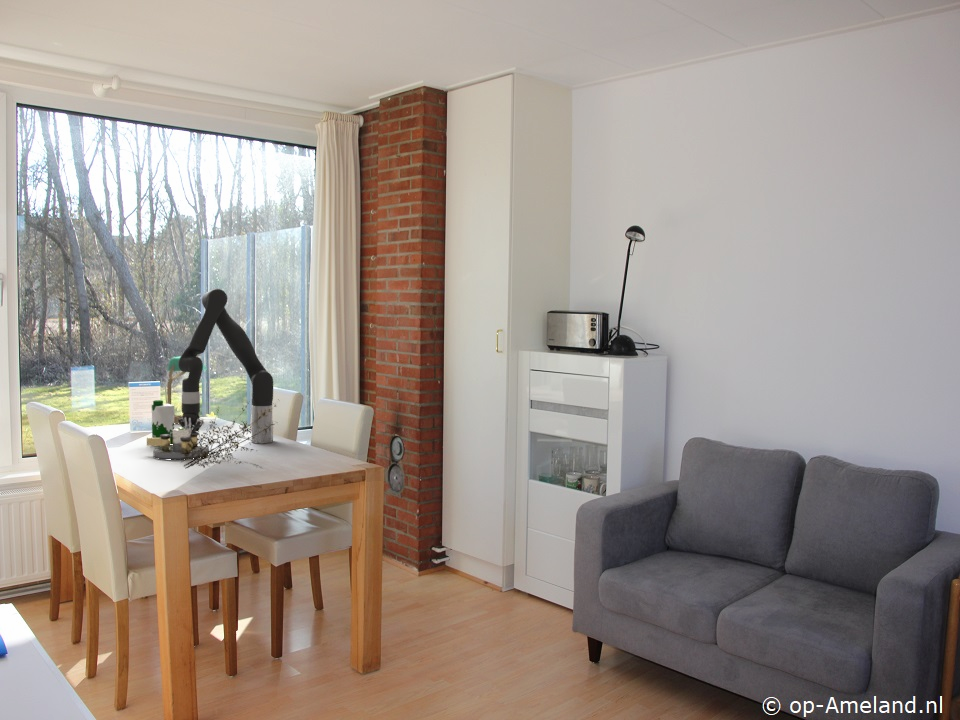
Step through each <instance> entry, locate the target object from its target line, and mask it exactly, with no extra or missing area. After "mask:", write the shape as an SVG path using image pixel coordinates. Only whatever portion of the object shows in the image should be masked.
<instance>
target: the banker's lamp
mask: <svg viewBox="0 0 960 720" xmlns="http://www.w3.org/2000/svg"><path fill="white" fill-rule="evenodd" d="M180 357H181V355H180V356H174V357H171V358H170V359H169V363H168V367H167V371H168V372H169V373H168V381H167V385H166V386H167V387H166V388H167V389H166V393H167V394H166V395H167V397H166V398H167V400H166V401H167V402H166V404H171V405H172V383H173V381H174V380H175V379H176V378H178V377H181V376H183V375H185V374H186V373H187V372H183V371H181V370H180V369H179V365H178V364H179V359H180ZM205 370H206V371H207V370H208V368H207V366H205V364H203V370H202V371H205ZM173 372H179V373H178V374H177V373H176V374H175V375H174V376H172V375H173ZM181 418H182V415H180V414H175V413H174V423H179V421H178V420H179V419H181ZM200 420H201V421H204V419H203V418H202V419H200ZM178 425H180V423H179V424H178Z"/></svg>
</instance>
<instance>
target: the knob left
mask: <svg viewBox="0 0 960 720" xmlns="http://www.w3.org/2000/svg"><path fill="white" fill-rule="evenodd" d="M191 439H192V437H181V438H180V440H181V453H190V452H191V451H189V450H191V447H190V446H189V445H188V444H187V443H189V444H192V445H191V446H193V443H191Z"/></svg>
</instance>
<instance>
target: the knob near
mask: <svg viewBox="0 0 960 720" xmlns="http://www.w3.org/2000/svg"><path fill="white" fill-rule="evenodd" d="M197 432H198V431H196V432H190V437H192V441H191V443H192V442H193V444H194V443H195V442H196V441H197V438H198V437H199V434H198V433H199V432H198V433H197ZM197 443H198V441H197V442H196V443H195V444H197ZM193 446H194V445H193ZM195 446H196V445H195ZM197 446H198V445H197ZM197 446H196V447H197ZM193 448H194V447H193Z"/></svg>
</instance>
